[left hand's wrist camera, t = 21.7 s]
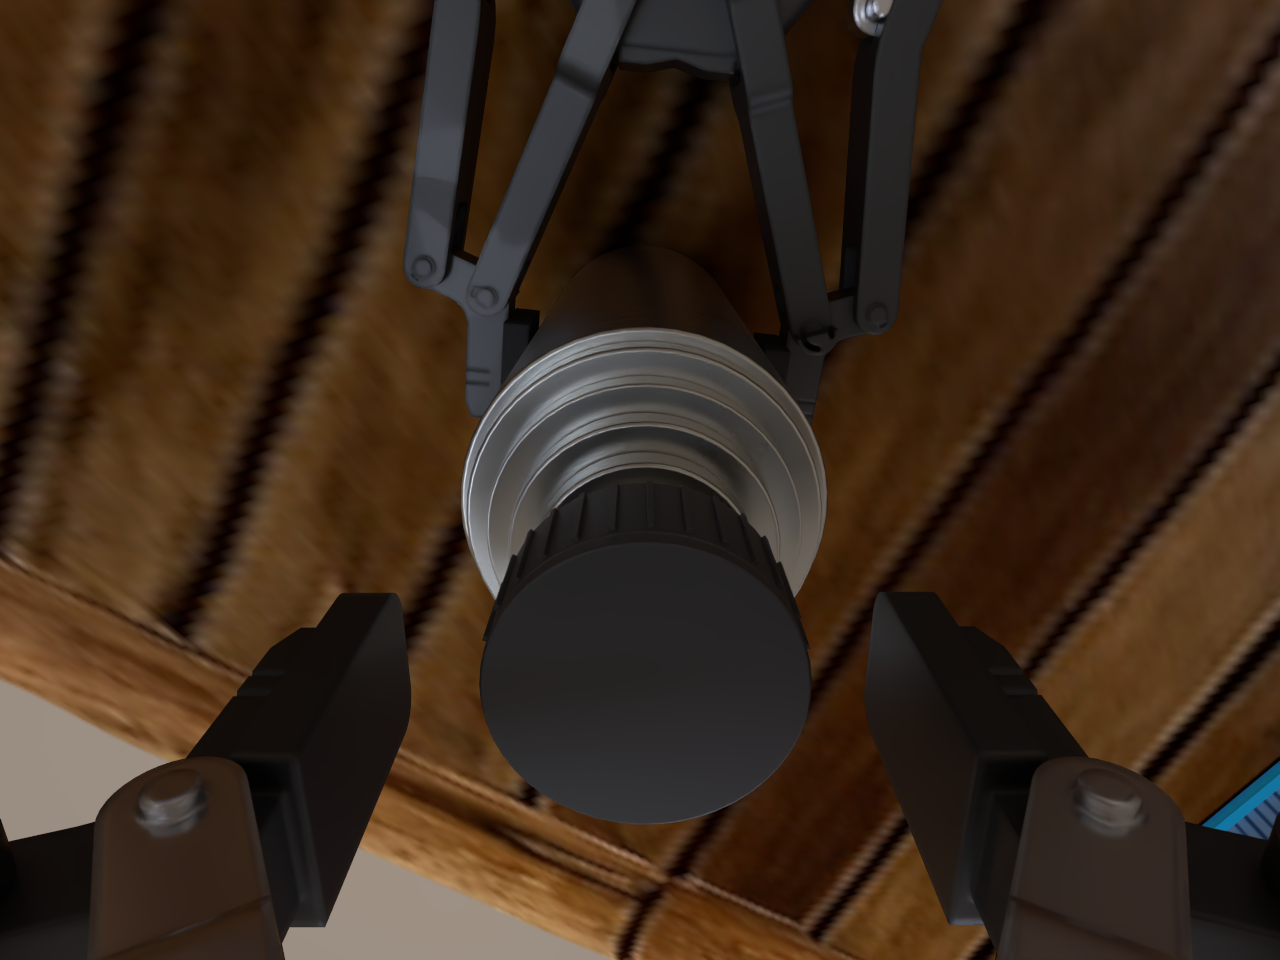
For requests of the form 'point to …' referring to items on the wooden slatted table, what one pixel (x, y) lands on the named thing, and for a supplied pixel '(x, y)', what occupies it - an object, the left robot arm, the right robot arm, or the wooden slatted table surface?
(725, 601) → the cap
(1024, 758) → the left robot arm
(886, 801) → the wooden slatted table surface
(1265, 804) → the model building
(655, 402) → the bottle
